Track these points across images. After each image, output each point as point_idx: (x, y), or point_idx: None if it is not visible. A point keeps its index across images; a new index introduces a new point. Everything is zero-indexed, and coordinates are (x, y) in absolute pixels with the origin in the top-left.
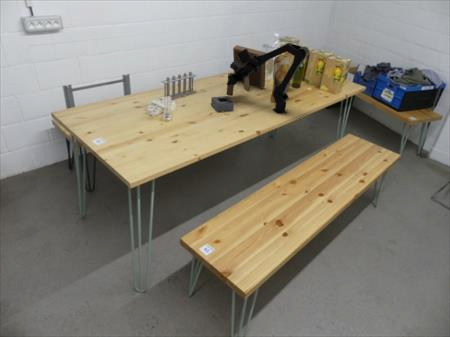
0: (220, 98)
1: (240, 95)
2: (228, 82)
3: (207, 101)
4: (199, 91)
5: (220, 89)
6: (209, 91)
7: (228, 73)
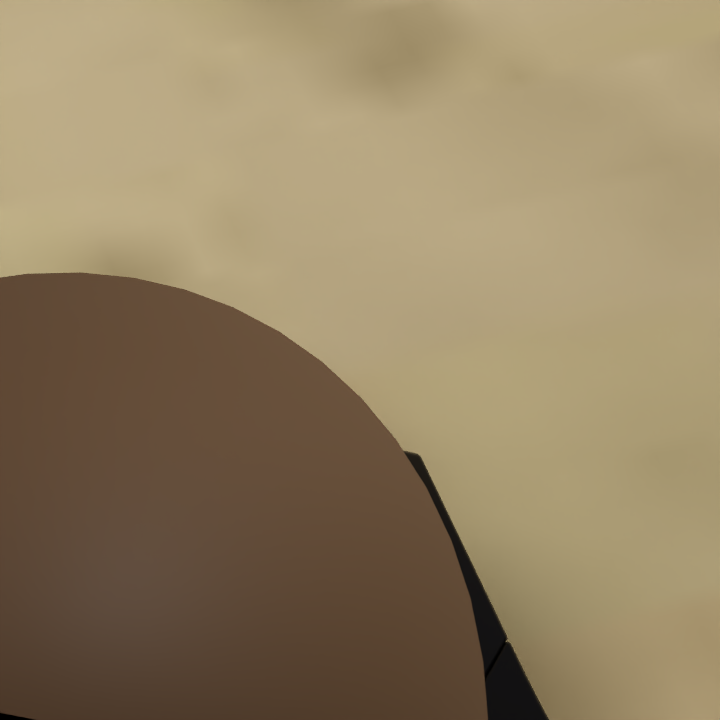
0: None
1: None
2: None
3: (2, 198)
4: (352, 7)
5: (595, 256)
6: (422, 127)
7: (44, 287)
